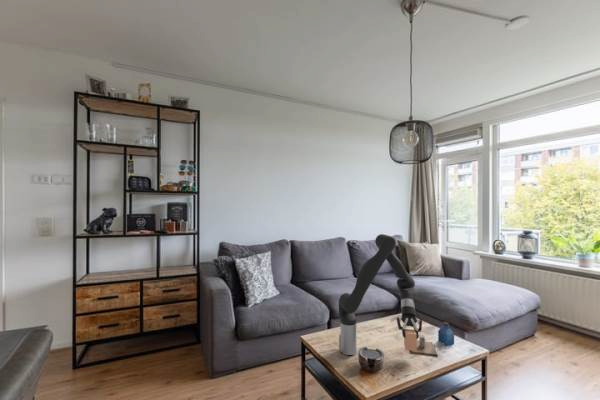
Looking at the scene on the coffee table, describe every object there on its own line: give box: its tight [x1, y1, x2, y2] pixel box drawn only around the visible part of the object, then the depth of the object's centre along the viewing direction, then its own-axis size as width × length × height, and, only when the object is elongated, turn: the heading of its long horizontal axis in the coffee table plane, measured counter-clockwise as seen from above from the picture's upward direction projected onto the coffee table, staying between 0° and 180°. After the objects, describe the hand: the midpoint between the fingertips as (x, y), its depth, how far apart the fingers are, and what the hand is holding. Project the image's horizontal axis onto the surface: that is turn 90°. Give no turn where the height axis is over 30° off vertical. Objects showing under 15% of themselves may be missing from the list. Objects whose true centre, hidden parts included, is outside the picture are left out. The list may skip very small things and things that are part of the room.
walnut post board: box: [410, 335, 439, 357], centre depth 166 cm, size 14×14×7 cm
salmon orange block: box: [403, 328, 418, 351], centre depth 155 cm, size 6×6×9 cm
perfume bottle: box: [437, 321, 455, 346], centre depth 173 cm, size 6×6×12 cm
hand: (410, 338), depth 153 cm, fingers closed on salmon orange block, 5 cm apart
